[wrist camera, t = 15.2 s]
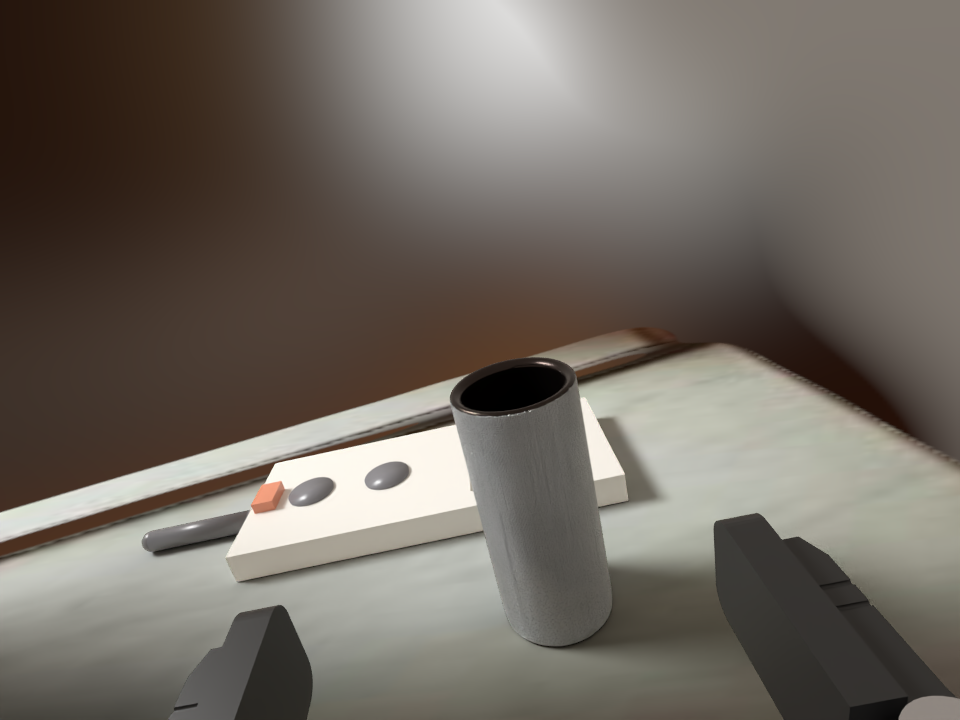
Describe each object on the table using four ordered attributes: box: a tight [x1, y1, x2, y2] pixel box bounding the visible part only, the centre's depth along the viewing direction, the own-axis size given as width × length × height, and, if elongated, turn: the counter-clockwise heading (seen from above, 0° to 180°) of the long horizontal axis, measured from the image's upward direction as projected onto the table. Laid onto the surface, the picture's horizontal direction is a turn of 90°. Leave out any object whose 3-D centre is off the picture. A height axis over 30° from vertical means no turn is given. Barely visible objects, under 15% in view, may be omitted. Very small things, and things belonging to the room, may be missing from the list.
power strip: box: [142, 397, 629, 582], centre depth 33 cm, size 28×9×2 cm, turn 93°
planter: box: [450, 357, 612, 646], centre depth 22 cm, size 4×4×10 cm
